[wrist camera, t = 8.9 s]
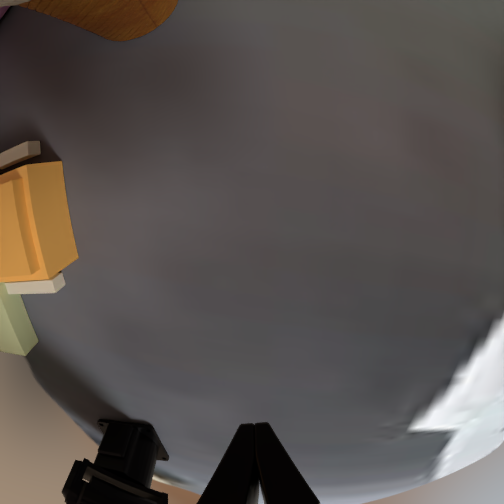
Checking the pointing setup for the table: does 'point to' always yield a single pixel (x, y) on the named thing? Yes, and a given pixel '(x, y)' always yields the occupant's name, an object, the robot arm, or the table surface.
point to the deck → (9, 293)
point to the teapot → (3, 10)
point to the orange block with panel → (34, 223)
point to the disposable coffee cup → (105, 14)
